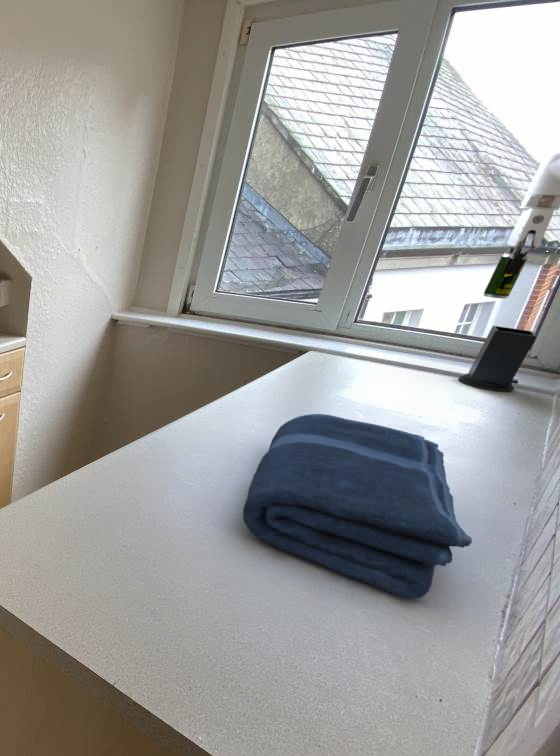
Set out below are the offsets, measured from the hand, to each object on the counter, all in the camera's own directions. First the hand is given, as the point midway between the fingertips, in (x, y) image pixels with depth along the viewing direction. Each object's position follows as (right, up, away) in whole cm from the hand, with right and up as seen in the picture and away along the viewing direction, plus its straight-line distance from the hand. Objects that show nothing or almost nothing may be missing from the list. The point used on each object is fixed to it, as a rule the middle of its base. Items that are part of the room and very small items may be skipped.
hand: (507, 272), depth 155 cm
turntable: (-14, -33, -7) cm, 36 cm away
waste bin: (-14, -33, -7) cm, 36 cm away
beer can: (0, -6, +3) cm, 7 cm away
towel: (-101, -60, -68) cm, 136 cm away
